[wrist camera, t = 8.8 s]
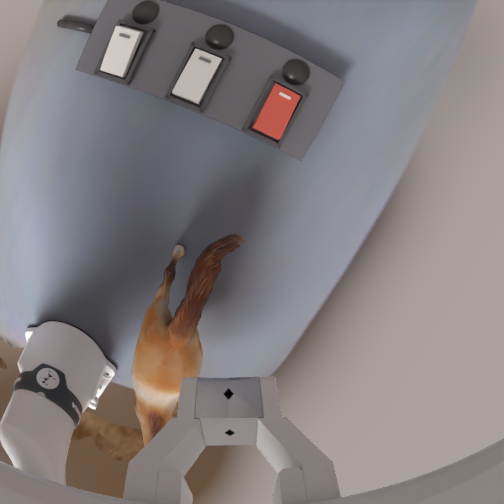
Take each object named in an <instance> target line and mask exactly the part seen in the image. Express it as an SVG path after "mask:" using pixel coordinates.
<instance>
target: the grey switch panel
mask: <svg viewBox="0 0 504 504" xmlns="http://www.w3.org/2000/svg"><path fill="white" fill-rule="evenodd" d="M57 26H58V27H63V28H68V29H73V30H78V31H82V32H87V33H91V35H90V37H89V39H88V41H87V44H86V46H85V48H84V50H83V53H82V55H81V57H80V60H79V62H78V65H77V67H76V70H78V71H82V72H85V73H89V74H92V75H95V76H98V77H102V78H105V79H108V80H111V81H114V82H117V83H120V84H123V85H126V86H129V87H132V88H135V89H138V90H141V91H143V92H146V93H149V94H152V95H154V96H157V97H160V98H162V99H165V100H168V101H170V102H173V103H175V104H178V105H181V106H183V107H186V108H188V109H191V110H193V111H195V112H198V113H200V114H203V115H205V116H207V117H210V118H212V119H214V120H217V121H219V122H221V123H224V124H226V125H228V126H230V127H233V128H235V129H237V130H239V131H241V132H243V133H246V134H248V135H250V136H252V137H254V138H256V139H258V140H261V141H263V142H265V143H267V144H269V145H271V146H273V147H275V148H277V149H279V150H281V151H283V152H285V153H287V154H289V155H291V156H293V157H295V158H297V159H299V160H301V161H302V159H303V157H304V156H305V154H306V152H307V150H308V148H309V147H310V145H311V143H312V141H313V139H314V138H315V136H316V134H317V132H318V130H319V129H320V127H321V125H322V123H323V121H324V119H325V118H326V116H327V114H328V112H329V110H330V109H331V107H332V105H333V103H334V101H335V100H336V98H337V96H338V94H339V92H340V91H341V89H342V87H343V85H344V83H345V82H344V81H342V80H341V79H339V78H337V77H336V76H334V75H332V74H331V73H329V72H327V71H326V70H324V69H322V68H320V67H319V66H317V65H315V64H313V63H312V62H310V61H308V60H306V59H304V58H302V57H301V56H299V55H297V54H295V53H293V52H291V51H289V50H287V49H285V48H283V47H281V46H279V45H277V44H275V43H273V42H271V41H269V40H266V39H264V38H262V37H260V36H258V35H256V34H253V33H251V32H249V31H246V30H244V29H242V28H239V27H237V26H234V25H232V24H229V23H227V22H224V21H222V20H219V19H217V18H214V17H211V16H208V15H206V14H203V13H200V12H197V11H194V10H191V9H188V8H185V7H182V6H178V5H175V4H172V3H168V2H165V1H161V0H108V1H107V3H106V5H105V7H104V9H103V11H102V13H101V14H100V16H99V18H98V20H97V22H96V24H95V26H93V25H88V24H83V23H79V22H74V21H68V20H63V19H61V20H59V21H58V22H57ZM116 26H123V27H127V28H131V29H134V30H138V31H141V32H143V35H142V37H141V40H140V42H139V44H138V47H137V49H136V52H135V54H134V57H133V59H132V62H131V65H130V67H129V70H128V73H127V75H126V76H125V77H120V76H117V75H114V74H111V73H108V72H104V71H101V70H100V68H101V65H102V62H103V59H104V56H105V54H106V51H107V48H108V45H109V43H110V40H111V37H112V35H113V32H114V30H115V27H116ZM195 49H199V50H201V51H204V52H206V53H209V54H212V55H214V56H217V57H219V58H221V59H222V61H221V63H220V65H219V67H218V69H217V70H216V72H215V74H214V76H213V78H212V80H211V82H210V83H209V85H208V87H207V89H206V91H205V93H204V95H203V97H202V99H201V101H200V103H199V104H197V103H195V102H192V101H190V100H187V99H185V98H182V97H180V96H177V95H174V94H173V93H172V91H173V89H174V87H175V85H176V83H177V81H178V79H179V77H180V76H181V74H182V72H183V70H184V68H185V66H186V65H187V63H188V61H189V59H190V57H191V56H192V54H193V52H194V50H195ZM275 83H276V84H278V85H280V86H282V87H284V88H286V89H288V90H290V91H292V92H294V93H296V94H297V95H299V96H300V98H299V101H298V103H297V105H296V107H295V109H294V111H293V113H292V115H291V117H290V120H289V122H288V124H287V126H286V128H285V130H284V132H283V134H282V137H281V139H279V140H277V139H275V138H273V137H271V136H269V135H267V134H265V133H262V132H260V131H258V130H256V129H254V128H252V127H253V125H254V123H255V121H256V119H257V117H258V115H259V113H260V111H261V108H262V106H263V104H264V102H265V100H266V98H267V96H268V94H269V92H270V90H271V88H272V86H273V85H274V84H275Z"/></svg>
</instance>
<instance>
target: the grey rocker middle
mask: <svg viewBox="0 0 504 504" xmlns="http://www.w3.org/2000/svg"><path fill="white" fill-rule="evenodd" d="M221 61H222V59H221V58H219V57H217V56H214V55H212V54H209V53H206V52H204V51H201V50H199V49H195V50H194V52H193V54H192V56H191V57H190V59H189V61H188V63H187V65H186V66H185V68H184V70H183V72H182V74H181V76H180V77H179V79H178V81H177V83H176V85H175V87H174V89H173V91H172V93H173V94H174V95H177V96H180V97H182V98H185V99H187V100H190V101H192V102H195V103H197V104H199V103H200V101H201V99H202V97H203V95H204V93H205V91H206V89H207V87H208V85H209V83H210V82H211V80H212V78H213V76H214V74H215V72H216V70H217V69H218V67H219V65H220V63H221Z"/></svg>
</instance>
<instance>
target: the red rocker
mask: <svg viewBox="0 0 504 504" xmlns="http://www.w3.org/2000/svg"><path fill="white" fill-rule="evenodd" d="M299 98H300V96H299V95H297V94H296V93H294V92H292V91H290V90H288V89H286V88H284V87H282V86H280V85H278V84H276V83H275V84H274V85H273V86H272V88H271V90H270V92H269V94H268V96H267V98H266V100H265V102H264V104H263V106H262V108H261V111H260V113H259V115H258V117H257V119H256V121H255V123H254V125H253V127H252V128H254V129H256V130H258V131H260V132H262V133H265V134H267V135H269V136H271V137H273V138H275V139H277V140H279V139H281V137H282V134H283V132H284V130H285V128H286V126H287V124H288V122H289V120H290V117H291V115H292V113H293V111H294V109H295V107H296V105H297V103H298V101H299Z"/></svg>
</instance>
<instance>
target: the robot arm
mask: <svg viewBox="0 0 504 504" xmlns="http://www.w3.org/2000/svg"><path fill="white" fill-rule="evenodd" d="M25 336H26V339H27V344H26V346H25V348H24V350H23V352H22V354H21V356H20V359H19V361H18V366H19V370H20V373H21V374H20V375H19V377H18V379H17V380H16V382H15V384H14V388H13V390H12V394H13V396H12V398H11V400H10V402H9V405H8V406H7V409H6V411H5V413H4V415H3V418H2V420H1V422H0V440H1V444H2V445H3V448H4V449H5V451H6V452H7V454H8V455H9V457H10V458H11V460H12V463H13V465H14V467H13V466H10V465H8V464H6V463H3V462H1V461H0V504H193V496H192V494H191V492H190V490H189V488H188V486H187V483H186V481H185V479H184V475H185V474H186V473H187V471H188V470H189V469H190V467H191V466H192V465H193V463H194V462H195V461H196V459H197V458H198V456H199V455H200V454H201V452H202V451H203V449H204V448H205V445H256V446H257V448H258V449H259V450H260V451H261V452H262V454H263V455H264V456H265V458H266V459H267V460H268V462H269V463H270V464H271V465H272V467H273V468H274V469H275V470H276V471H277V473H278V478H277V481H276V485H275V488H274V491H273V494H272V498H273V504H504V438H503V439H502V440H500V441H498V442H496V443H494V444H492V445H490V446H489V447H487V448H485V449H483V450H481V451H479V452H476V453H475V454H472V455H470V456H468V457H466V458H464V459H462V460H459V461H457V462H455V463H452V464H450V465H447V466H445V467H443V468H440V469H438V470H435V471H432V472H430V473H427V474H424V475H421V476H418V477H416V478H413V479H410V480H407V481H404V482H401V483H397V484H394V485H390V486H387V487H383V488H379V489H376V490H372V491H368V492H364V493H360V494H355V495H351V496H346V497H341V496H340V492H339V487H338V483H337V478H336V474H335V470H334V466H333V462H332V461H331V460H330V459H329V458H328V457H327V456H326V455H325V454H324V453H322V451H320V450H319V449H318V448H317V447H316V446H315V445H314V444H313V443H312V442H311V441H310V440H309V439H308V438H307V437H306V436H305V435H304V434H303V433H302V432H301V431H300V430H299V429H298V428H297V427H296V426H295V425H293V423H291V421H290V420H288V418H287V417H281V411H280V404H279V397H278V391H277V384H276V379H275V377H274V376H271V377H237V378H201V377H183V378H182V380H181V387H180V395H179V403H178V412H177V418H172V419H171V420H170V421H169V422H168V423H167V424H166V425H165V426H164V427H163V428H162V429H161V430H160V431H159V432H158V433H157V434H156V436H155V437H154V438H153V439H152V440H151V441H150V442H149V443H148V444H147V445H146V446H145V447H144V448H143V449H142V450H141V451H140V452H139V453H138V454H137V455H136V456H135V457H134V458H133V459H132V460H131V461H130V462H129V465H128V471H127V477H126V483H125V490H124V496H123V499H119V498H114V497H109V496H105V495H100V494H96V493H92V492H88V491H84V490H80V489H76V488H73V487H69V486H66V482H65V462H66V458H67V452H68V448H69V444H70V440H71V436H72V433H73V430H75V429H76V428H77V425H78V424H79V422H80V419H81V415H82V413H83V412H84V411H85V410H86V408H87V407H88V406H89V407H90V408H92V409H96V406H97V404H98V398H99V397H100V395H101V394H102V392H103V391H104V389H105V388H106V386H107V385H108V383H109V382H110V381H111V379H112V378H113V376H114V375H115V373H116V368H115V366H114V365H113V364H112V363H110V362H109V361H108V360H107V359H106V358H105V356H104V355H103V353H102V351H101V350H100V348H99V347H98V346H97V344H96V343H95V342H94V341H93V340H92V339H91V338H90V337H88V336H87V335H86V334H85V333H83V332H82V331H80V330H78V329H77V328H75V327H73V326H71V325H68V324H65V323H62V322H56V321H49V322H45V323H43V324H41V325H40V326H38V327H33V328H27V330H26V332H25Z"/></svg>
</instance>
